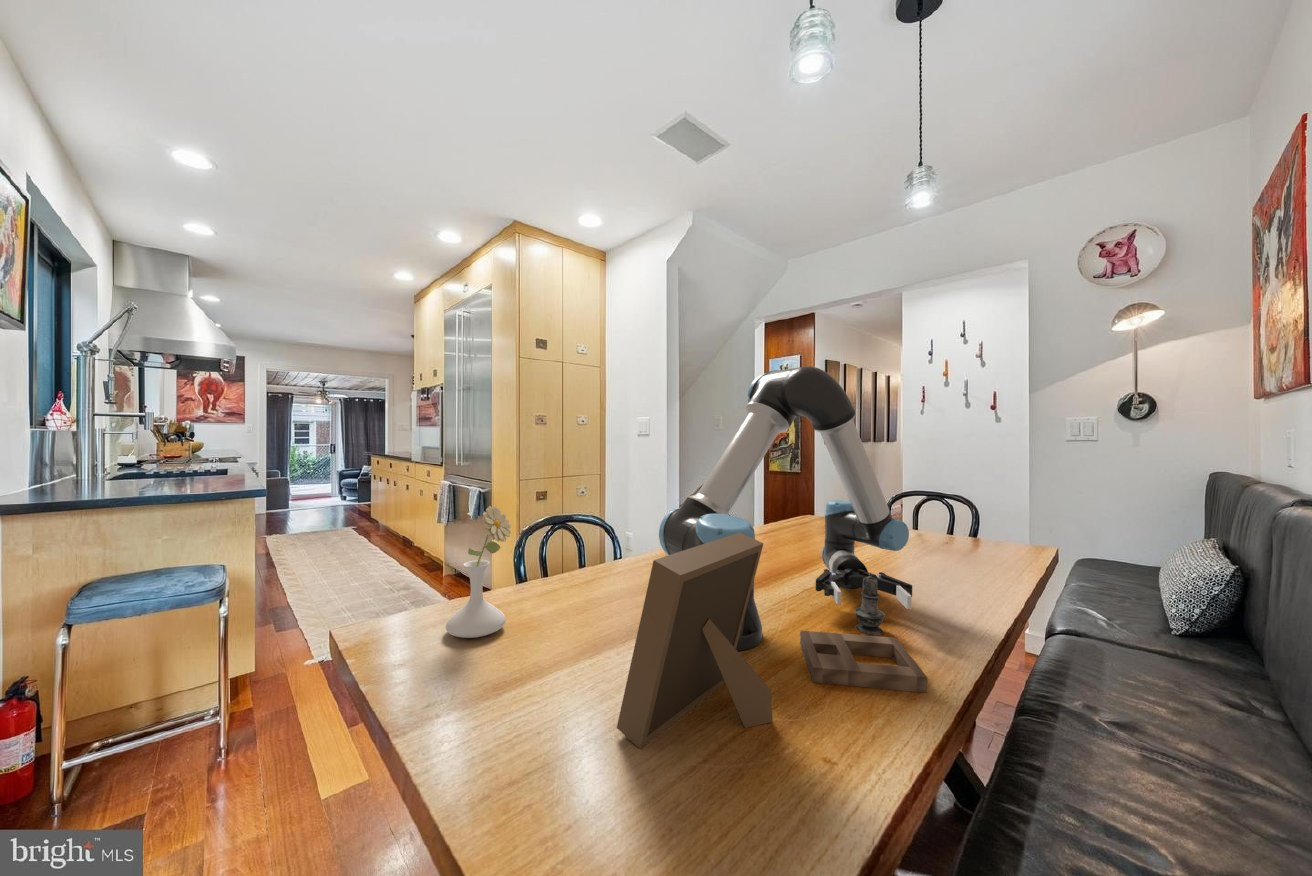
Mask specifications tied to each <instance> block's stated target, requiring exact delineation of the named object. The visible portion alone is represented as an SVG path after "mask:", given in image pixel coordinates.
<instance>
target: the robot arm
mask: <svg viewBox="0 0 1312 876" xmlns="http://www.w3.org/2000/svg"><path fill="white" fill-rule="evenodd" d="M747 396H748V398H747V404H746V406H745V410H746V413H747V415H746V417H745V419H744V420H743V422H742V423H741V424H740V426H739V428H738V430H737V431H736V432H735V434H734V436H733V438H732V439H731V440H730V442H729V444H728V445H727V447H726V449H725V450H724V451H723V453H722V455H721V456H720V458H719V460H718V461H717V463H716V464H715V465H714V467H713V469H712V470H711V472H710V473H709V474H708V476H707V478H706V479H705V481H704V482H703V484H702V486H701V487H700V489H699V491H698V492H697V493H696V494H693V495H688V496H687V497H686V498H685V500H684V501H683V503H682V505H681V506H680V508H676V509H674V510H673V509H672V510H671V511H669V512H668V513H667V514H666V515H664V517H663V518H662V520H661V522H660V525H659V528H658V529H659V530H658V539H659V543H660V546H661V548H662V550H663V552H664V553H665V554H666V556H668V555H671V554H674V553H677V552H680V551H684V550H687V549H690V548H693V547H696V546H699V545H702V544H705V543H709V542H712V541H715V540H718V539H721V538H724V537H727V536H730V535H734V534H737V533H742V534H744V535H746V536H748V537H751V538H753V539H755V540H756V534H755V529H754V526H753V524H751V522H749V521H748V520H746V519H745V518H743V517H741V516H740V517H739V516H737V515H730V513H731V511H732V510H733V508H734V506H735V505H736V503H737V501H738V499H739V498H740V497H741V495H742V493H743V491H744V490H745V489H746V486H747V485H748V483H749V482H750V480H751V478H752V477H753V475H754V474H755V472H756V470H757V469H758V467H759V466H760V464H761V462H762V461H763V459H764V457H765V456H766V454H767V453H768V451H769V450H770V448H771V446H772V445H773V442H774V441H775V439H776V437H777V436H778V435H779V434H781V433H786V432H787V431H788V430H789V429H790V428H791V426H792V424H793V423H794V422H795V419H796V418H801V417H802V418H806V419H807V420H808V421H809V422H810V423H811V426H812V429H813V431H815V432H818V433H820V435H821V437H822V439H823V442H824V444H825V448H826V449H827V451H828V453H829V456H830V458H831V460H832V462H833V465H834V467H835V468H834V469H835V470H836V472H837V475H838V476H839V479H840V482H841V483H842V486H843V489H844V491H845V493H846V496H847V499H849V500H842V499H841V500H839V499H831V500H829V501H827V502H826V504H825V512H824V513H825V515H824V546H822V549H821V558H822V561H823V564H824V565H825V567H826V568H825V569H823V572H822V573H821V574H820V575H818V577H816V578H815V591H816V592H821V591H824V593H823V595H824V596H825V597H830V596H831V597H832V598H833V600H834V602H835V603H836V605H839V606H841V605H842V591H841V589H847V590H857V589H860V588H861V589H863V579H864V578H865V577H868V576H869V573H871V574H872V577H873V578H875V579H876V580H877V581H878V591H880V592H883V593H886V594H890V595H892V596H895V599H896V600H898V601H899V602H900V603H901V604H902V606H904V607H905V608H906V609H907V610H912V598H913V584H911V583H907V582H905V581H902V580H900V579H897V578H895V577H892V576H890V575H888V574H886V573H885V572H878V575H876V574H875V573H872V572H869V571H868V569H867V566H866V565H865V564H864V563H863V562H862V561H861V560H860V559H859V558H858V556H856V555H855V544H856V543H855V542H858V543H861V544H865V545H867V546H868V545H869V546H871V547H875V548H879V549H881V550H887V551H891V552H897V551H898V552H899V551H901V550H903V548H904V547H906V545H907V543H908V542H909V537H910V531H909V527H908V525H907V524H906V523H905V521H903V520H900V519H898V518H893V516H892V513H891V511H890V508H889V506H888V502H887V501H886V498H885V496H884V493H883V491H882V489H881V486H880V483H879V481H878V479H877V476H876V474H875V472H874V468H873V466H872V464H871V461H870V459H869V456H868V453H867V451H866V449H865V447H864V444H863V442H862V439H861V437H860V434H859V432H858V429H857V426H856V424H855V421H854V419H855V418H856V416H857V415H856V411H855V409H854V407H853V406H854V405H853V403H852V402H851V399H850V398H849V396H848V394H847V393H846V391H845V390H844V389H843V386H841V385H840V383H838V381H837V380H836V378H834V377H833V376H832V375H831V374H829V373H828V372H827V371H825V370H823V369H821V368H818V367H814V366H809V365H807V366H806V365H805V366H799V367H793V368H786V369H780V370H778V369H776V370H770V371H767V372H766V373H765V372H764V373H762V374H760V375H758V376H757V377H755V379H754V380H753V381H752V382H751V384H750V386H749V388H748V390H747ZM760 618H761V617H760V615H759V611H758V608H757V605H756V601H755V581H754V582H753V586H752V590H751V593H750V597H749V601H748V605H747V609H746V612H745V616H744V620H743V624H742V628H741V631H740V635H739V639H738V643H737V647H736V650H737V651H745V650H749V649H752V648H755V647H757V646H758V645H759V644H761V642H762V640H763V624H762V621H761V619H760Z"/></svg>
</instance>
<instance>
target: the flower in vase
mask: <svg viewBox="0 0 1312 876" xmlns="http://www.w3.org/2000/svg"><path fill="white" fill-rule="evenodd" d="M481 517H482V520H483V521H482V524H483V526H484V531H485V532H486V533H487V534H486V537H485V541H484V543H483V547H482V549H481V551H478V550H474V549H472V548H468V551H467V554H468V555H470V556H475V557H476V556H477V557H478V559H477V560H475V559H474V560H469V561H466V562H464V563H463V567H464V568H465V569H466V571H467V573H468V577H469V582H470V594H469V595H470V596H469V599H468V601H467V602H466V604H464V605H463V606H462V607H461V608H459V609H458V610H457V611H455V612H454V614H452V616H451V617H450V618H449V619H448V620H447V621H446V624H445V630H446V632H448V633H449V635H452V636H453V637H457V638H463V639H465V638H466V639H468V638H469V639H472V638H474V639H475V638H481V637H485V636H488V635H491V634H493V633H495V632H498V631H499V630H501V628H503V627H504V625H505V624H506V621H507V618H506V616H505V614H504V613H503V611H501V610H500V609H499V608H497V607H496V606H494V605H493V604H491V603H489V602H488V601H487V600H486V599H485V597H484V594H483V591H484V590H483V583H484V577H485V572H486V570H487V569H488V567H489V565H490V564H491V562H490V561H489V560H486V559H481V558H482V556H483V553H484V551H485V549H486V550H487V551H488V552H489V553H490V554H496V553H497V552H498V551H500V550H501V548H502V547H501V545H500V544H499V542H501V543H504V542H506V541H507V538H510V537H511V534H512V531H511V530H510V529H511V528H512V524H510V521H509V519H508V518H507V515H506V513H504V512H502V510H501V509H500V508H498V507H497V506H495V505H494V506H493V508H492V506H491V505H488V507H487V508H486V509H485V511H483V513H482V516H481ZM489 537H490V538H491V540H489V541H488V538H489ZM496 541H497V542H496Z"/></svg>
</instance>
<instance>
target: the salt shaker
mask: <svg viewBox="0 0 1312 876" xmlns="http://www.w3.org/2000/svg"><path fill="white" fill-rule="evenodd" d="M871 573H872V572H869V576H868V577H865V578H864V579H863V588H862V591H861V592H860V595H861V606H860V607H856V608H855V609H854V610H853V611H854V613H855V617H856V620H857V621H858V622H859V624H856V625H855V629H856V631H858V632H860V633H862V634H864V635H868V636H880V635H882V634H883V633H884V630H883V629H882V628H881V627H880V625H882V623H883V621H884V619H885V617H886V614H885V613H884V612H883V611H881V610H879V606H878V601H879V600H878V599H879V598H880V595H879V593H878V591H879V590H878V581H877V580H876V579H875V578H873V577H872V574H873V573H872V574H871Z"/></svg>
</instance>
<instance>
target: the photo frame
mask: <svg viewBox="0 0 1312 876" xmlns="http://www.w3.org/2000/svg"><path fill="white" fill-rule="evenodd" d="M763 548H764V542H761V541H759V540H757V539H756V538H755V539H753V538H751V537H748V536H746V535H744V534H742V533H737V534H734V535H730V536H727V537H724V538H721V539H718V540H715V541H712V542H709V543H705V544H702V545H699V546H696V547H693V548H690V549H687V550H684V551H680V552H677V553H674V554H671V555H665V556H663V557H659V558H656V559H654V560H653V561H652V567H651V571H650V575H649V579H648V580H649V581H648V584H647V588H646V589H647V590H646V593H645V597H644V601H643V607H642V612H641V616H640V619H639V624H638V629H637V634H636V639H635V642H634V648H633V651H632V652H633V653H632V655H631V656H632V657H631V662H630V665H629V670H628V673H627V674H628V675H627V679H626V685H625V689H624V693H623V696H622V697H623V698H622V702H621V707H620V712H619V715H618V721H617V725H616V729H617V730H618V731H619V732H620V733H622V734H623V735H624V736H625V737H626V738H627V740H630V742H632V743H633V744H634V745H635V746H636V747H637V748H638V749H640V750H641V749H643V748H644V747H645V746H646V745H648V744H649V743H650V742H651V741H653V740H654V739H655V738H657V737H658V736H659V735H660V734H663V732H664V731H666V730H667V729H668V728H669V727H670V726H672V725H673V724H675V723H676V722H677V721H678V720H680V719H681V718H683V717H684V716H685V715H686V714H688V713H689V712H690V711H692V710H693V709H694V708H695V707H697V706H698V705H699V704H701V703H702V702H703V701H705V700H706V699H707V698H708V697H710V696H711V695H713V694H714V692H716V691H718V690H719V689H721V687H723V686H724V685H725V687H726V689H727V691H728V693H729V696H730V698H731V701H732V702H733V705H734V708H735V710H736V712H737V714H738V716H739V719H740V721H741V724H742V726H743V727H744V728H745V729H747V728H752V727H756V726H760V725H764V724H771V723H773V722H774V721H773V720H774V719H773V704H772V691H771V690H772V689H771V688H770V687H769V686H768V685H767V684H766V682H764V680H763V679H762V678H761V677H760V676H759V674H757V672H756V671H755V670H754V669H753V667H752V666H751V665H750V664H749V663H748V662H747V661H746V660H745V659H744V657H743V656H742V655H741V654H740V652H738V651H737V650H736V647H737V643H738V639H739V635H740V631H741V628H742V624H743V620H744V616H745V612H746V609H747V605H748V601H749V597H750V593H751V590H752V586H753V582H754V583H755V577H756V574H757V570H758V567H759V562H760V559H761V554H762V551H763Z"/></svg>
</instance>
